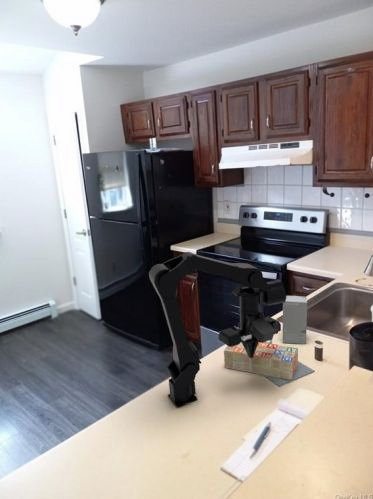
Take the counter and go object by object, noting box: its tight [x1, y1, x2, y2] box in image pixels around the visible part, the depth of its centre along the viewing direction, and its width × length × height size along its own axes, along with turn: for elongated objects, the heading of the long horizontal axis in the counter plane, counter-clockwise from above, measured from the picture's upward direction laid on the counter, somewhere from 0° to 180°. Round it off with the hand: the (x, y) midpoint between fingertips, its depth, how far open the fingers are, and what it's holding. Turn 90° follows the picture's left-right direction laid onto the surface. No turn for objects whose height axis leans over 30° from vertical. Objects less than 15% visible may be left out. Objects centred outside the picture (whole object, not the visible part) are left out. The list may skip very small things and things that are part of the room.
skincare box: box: [282, 295, 308, 345], centre depth 133 cm, size 8×7×16 cm
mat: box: [262, 360, 315, 388], centre depth 118 cm, size 14×16×1 cm
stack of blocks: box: [223, 339, 299, 380], centre depth 119 cm, size 21×6×12 cm
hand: (250, 357), depth 111 cm, fingers closed
